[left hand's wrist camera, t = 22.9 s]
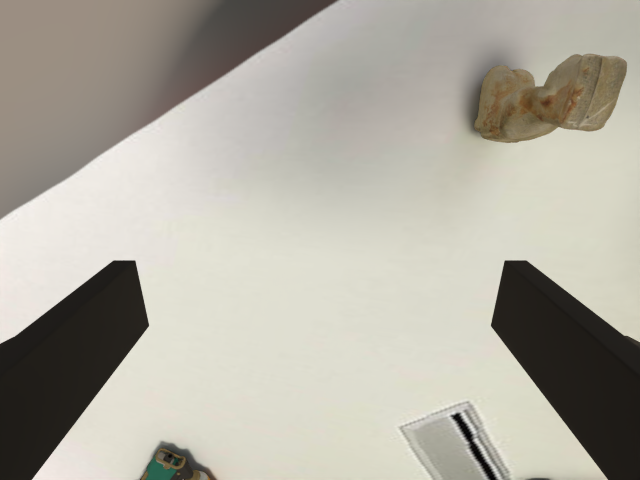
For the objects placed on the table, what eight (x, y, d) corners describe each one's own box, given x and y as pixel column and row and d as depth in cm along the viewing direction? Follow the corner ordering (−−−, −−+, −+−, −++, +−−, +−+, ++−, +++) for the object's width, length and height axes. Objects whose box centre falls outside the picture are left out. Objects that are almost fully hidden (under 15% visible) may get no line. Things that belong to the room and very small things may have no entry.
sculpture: (532, 74, 37) (660, 57, 23) (507, 143, 40) (608, 165, 26) (479, 63, 37) (577, 39, 23) (457, 133, 39) (533, 150, 25)
